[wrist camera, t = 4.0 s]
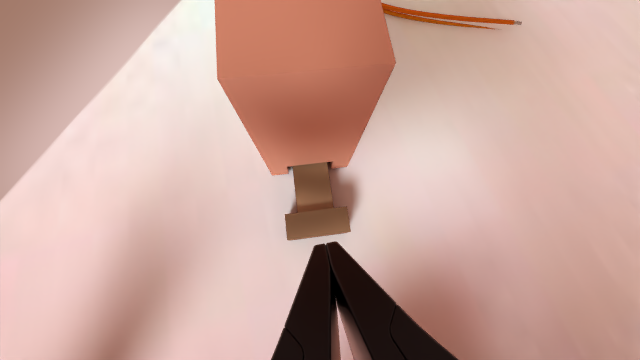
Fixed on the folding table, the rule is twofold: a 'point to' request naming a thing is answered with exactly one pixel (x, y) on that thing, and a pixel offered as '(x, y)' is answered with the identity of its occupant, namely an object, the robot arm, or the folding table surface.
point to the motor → (442, 17)
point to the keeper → (303, 74)
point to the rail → (315, 205)
